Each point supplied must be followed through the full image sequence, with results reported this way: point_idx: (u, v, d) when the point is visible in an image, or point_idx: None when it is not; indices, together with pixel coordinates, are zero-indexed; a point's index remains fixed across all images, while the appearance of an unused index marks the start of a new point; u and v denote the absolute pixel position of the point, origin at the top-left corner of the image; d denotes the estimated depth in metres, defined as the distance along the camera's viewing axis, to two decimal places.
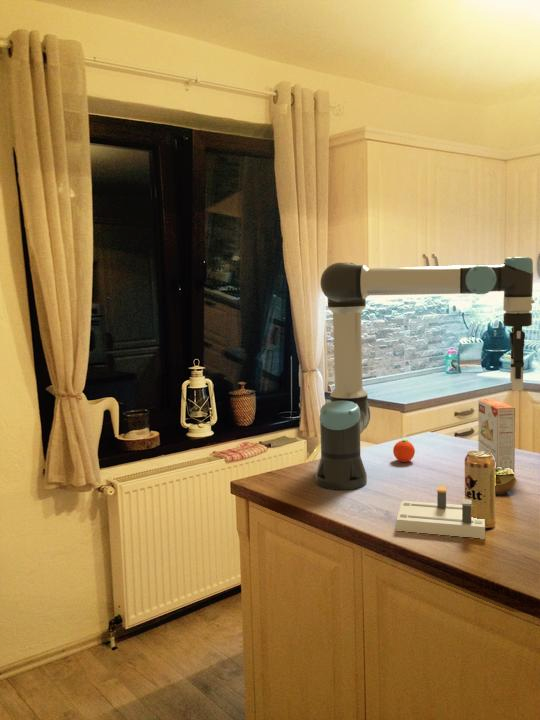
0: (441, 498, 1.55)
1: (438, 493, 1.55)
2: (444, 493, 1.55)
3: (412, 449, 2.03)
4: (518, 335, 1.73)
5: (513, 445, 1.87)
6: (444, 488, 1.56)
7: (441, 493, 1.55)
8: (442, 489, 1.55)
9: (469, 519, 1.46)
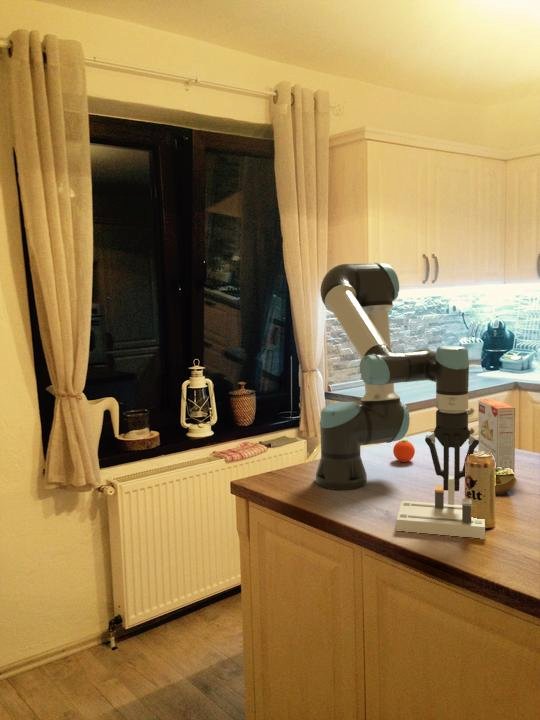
0: (438, 498, 1.55)
1: (436, 493, 1.55)
2: (442, 493, 1.55)
3: (412, 449, 2.03)
4: None
5: (513, 445, 1.87)
6: (442, 488, 1.56)
7: (438, 493, 1.55)
8: (440, 489, 1.56)
9: (469, 519, 1.46)
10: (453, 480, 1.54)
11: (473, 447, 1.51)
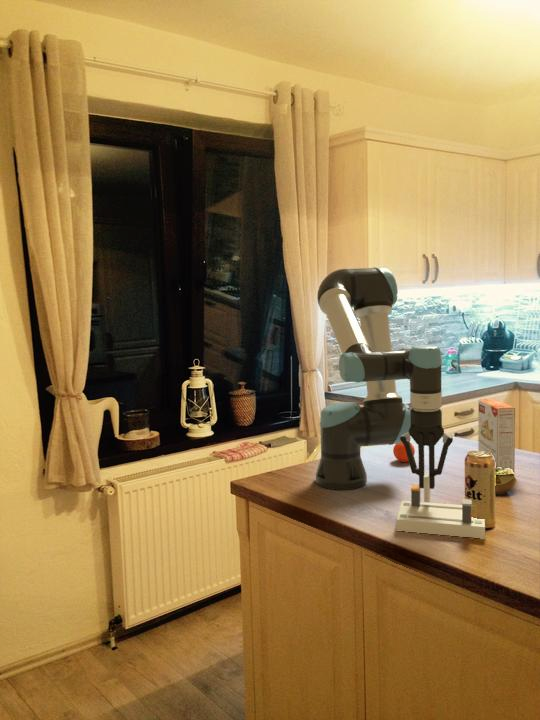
0: (414, 496, 1.57)
1: (412, 491, 1.57)
2: (418, 491, 1.57)
3: (412, 449, 2.03)
4: None
5: (513, 445, 1.87)
6: (418, 486, 1.58)
7: (415, 491, 1.57)
8: (416, 487, 1.57)
9: (469, 519, 1.46)
10: (428, 478, 1.56)
11: (447, 445, 1.53)
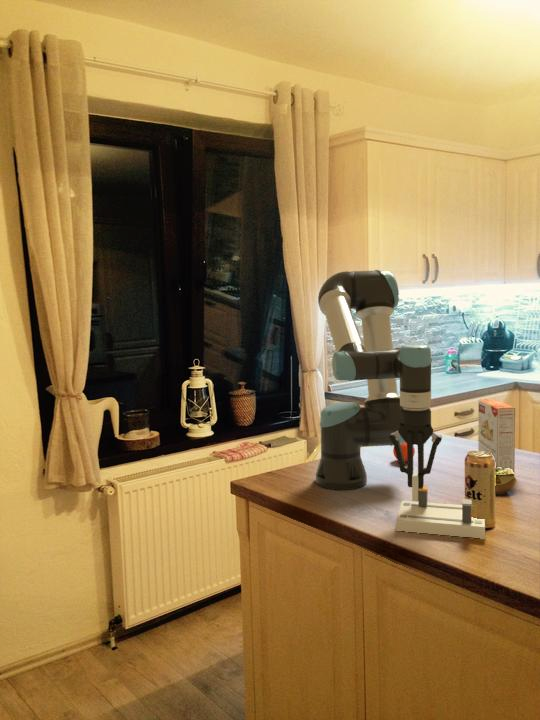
0: (422, 497, 1.56)
1: (419, 492, 1.56)
2: (425, 492, 1.56)
3: None
4: None
5: (513, 445, 1.87)
6: (425, 487, 1.57)
7: (422, 492, 1.56)
8: (423, 488, 1.57)
9: (469, 519, 1.46)
10: (417, 477, 1.56)
11: (436, 444, 1.54)
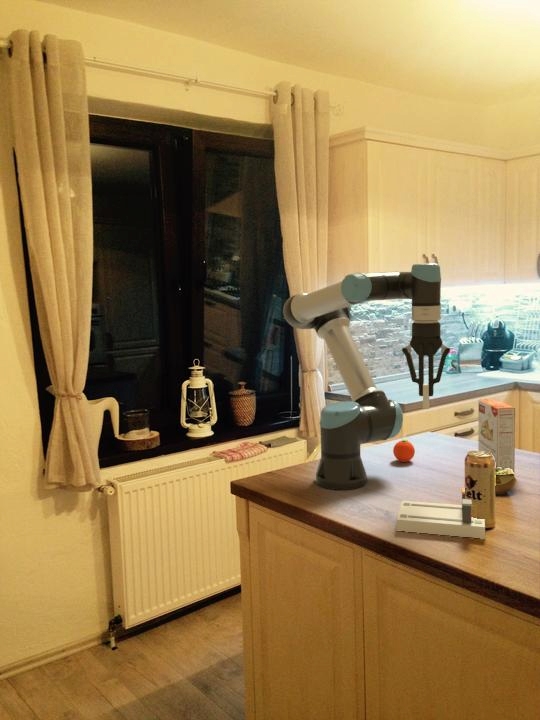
0: None
1: (463, 495, 1.53)
2: None
3: (412, 449, 2.03)
4: None
5: (513, 445, 1.87)
6: None
7: None
8: None
9: (469, 519, 1.46)
10: (427, 386, 1.70)
11: (445, 354, 1.67)
